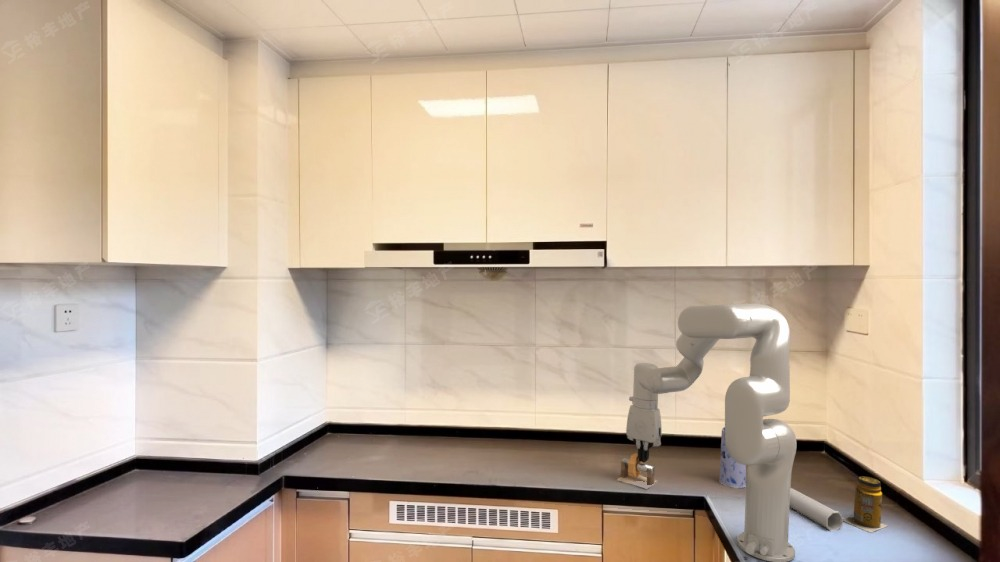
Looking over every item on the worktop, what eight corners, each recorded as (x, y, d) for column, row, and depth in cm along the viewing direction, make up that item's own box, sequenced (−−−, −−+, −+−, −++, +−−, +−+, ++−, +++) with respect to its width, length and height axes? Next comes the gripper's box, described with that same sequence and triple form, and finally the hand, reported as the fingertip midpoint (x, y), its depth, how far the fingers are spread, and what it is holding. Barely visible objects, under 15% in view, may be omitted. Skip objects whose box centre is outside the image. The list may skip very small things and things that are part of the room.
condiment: (887, 526, 141) (889, 482, 141) (871, 533, 137) (873, 488, 137) (858, 514, 147) (860, 472, 147) (841, 521, 143) (843, 477, 143)
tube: (756, 479, 161) (824, 516, 137) (770, 472, 162) (840, 508, 138) (760, 495, 162) (829, 535, 138) (774, 488, 163) (845, 527, 139)
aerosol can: (716, 477, 171) (718, 416, 171) (742, 479, 170) (744, 418, 170) (722, 487, 164) (724, 423, 163) (749, 489, 162) (751, 425, 162)
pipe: (650, 476, 162) (650, 466, 162) (621, 467, 168) (621, 458, 168) (654, 473, 164) (655, 464, 164) (625, 465, 171) (625, 456, 171)
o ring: (633, 479, 164) (633, 458, 164) (627, 477, 165) (628, 457, 165) (642, 473, 169) (642, 452, 169) (637, 471, 170) (637, 451, 170)
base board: (646, 490, 160) (647, 472, 160) (617, 480, 167) (617, 463, 166) (657, 482, 166) (658, 465, 166) (628, 473, 173) (629, 457, 173)
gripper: (617, 400, 167) (616, 458, 167) (663, 410, 157) (661, 470, 157) (628, 396, 172) (626, 452, 173) (673, 405, 163) (671, 464, 163)
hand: (643, 460), depth 165 cm, fingers closed
